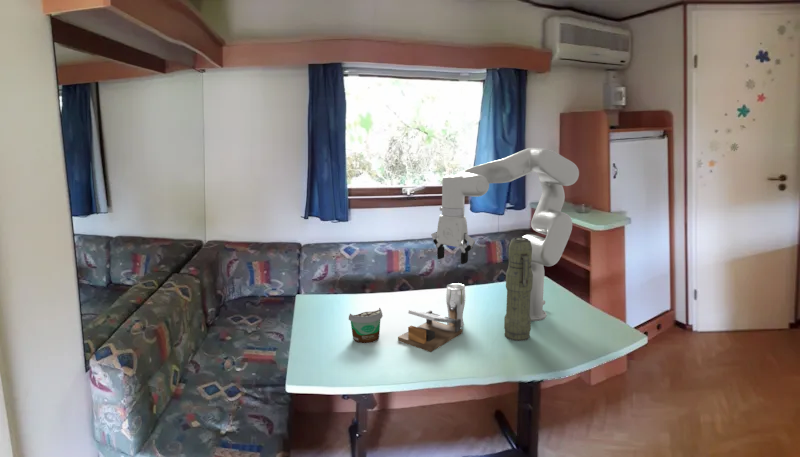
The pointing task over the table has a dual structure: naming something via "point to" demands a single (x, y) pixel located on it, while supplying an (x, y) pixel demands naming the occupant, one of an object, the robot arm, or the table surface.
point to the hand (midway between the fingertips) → (452, 260)
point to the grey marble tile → (433, 317)
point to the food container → (366, 326)
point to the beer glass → (455, 302)
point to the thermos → (518, 290)
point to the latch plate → (439, 336)
